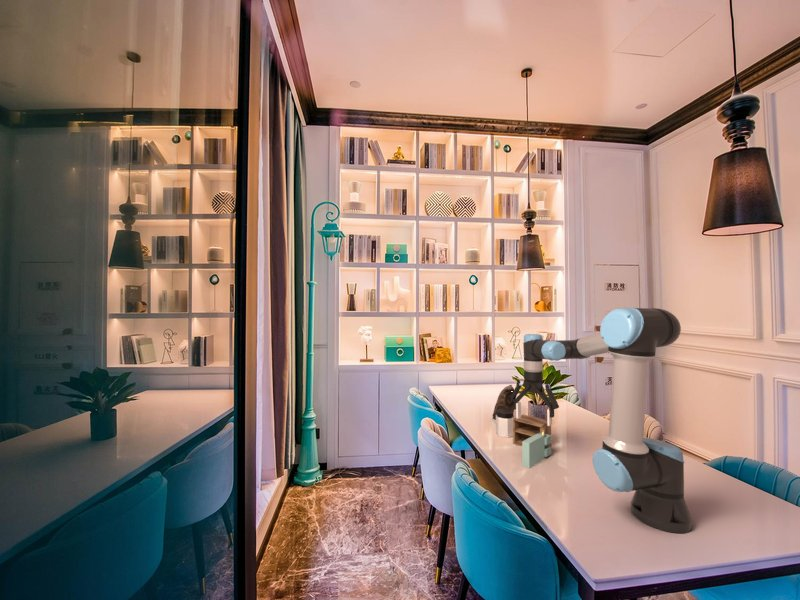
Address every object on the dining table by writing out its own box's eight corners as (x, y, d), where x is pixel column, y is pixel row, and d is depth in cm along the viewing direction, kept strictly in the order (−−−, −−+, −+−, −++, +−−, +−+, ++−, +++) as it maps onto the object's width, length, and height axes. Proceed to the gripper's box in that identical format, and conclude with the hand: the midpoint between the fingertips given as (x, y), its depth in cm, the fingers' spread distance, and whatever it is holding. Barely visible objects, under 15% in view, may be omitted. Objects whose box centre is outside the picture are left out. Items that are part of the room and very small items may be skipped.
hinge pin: (544, 456, 152) (543, 428, 152) (541, 455, 153) (541, 428, 153) (545, 455, 153) (545, 428, 153) (542, 455, 154) (542, 427, 154)
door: (540, 452, 156) (540, 430, 157) (551, 456, 153) (551, 433, 153) (520, 465, 143) (520, 440, 144) (531, 469, 140) (531, 444, 140)
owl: (511, 417, 209) (511, 383, 210) (522, 423, 197) (522, 388, 197) (491, 418, 206) (491, 384, 207) (502, 425, 194) (502, 388, 195)
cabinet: (541, 452, 156) (541, 425, 157) (513, 443, 167) (513, 418, 167) (551, 446, 163) (551, 420, 164) (523, 438, 174) (523, 414, 174)
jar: (515, 438, 174) (515, 413, 175) (499, 438, 174) (499, 413, 174) (509, 431, 183) (509, 408, 184) (494, 431, 183) (494, 408, 183)
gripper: (567, 373, 141) (567, 426, 140) (510, 366, 159) (511, 413, 158) (559, 375, 136) (560, 430, 135) (502, 368, 154) (502, 416, 153)
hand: (533, 421), depth 147 cm, fingers open, 13 cm apart
